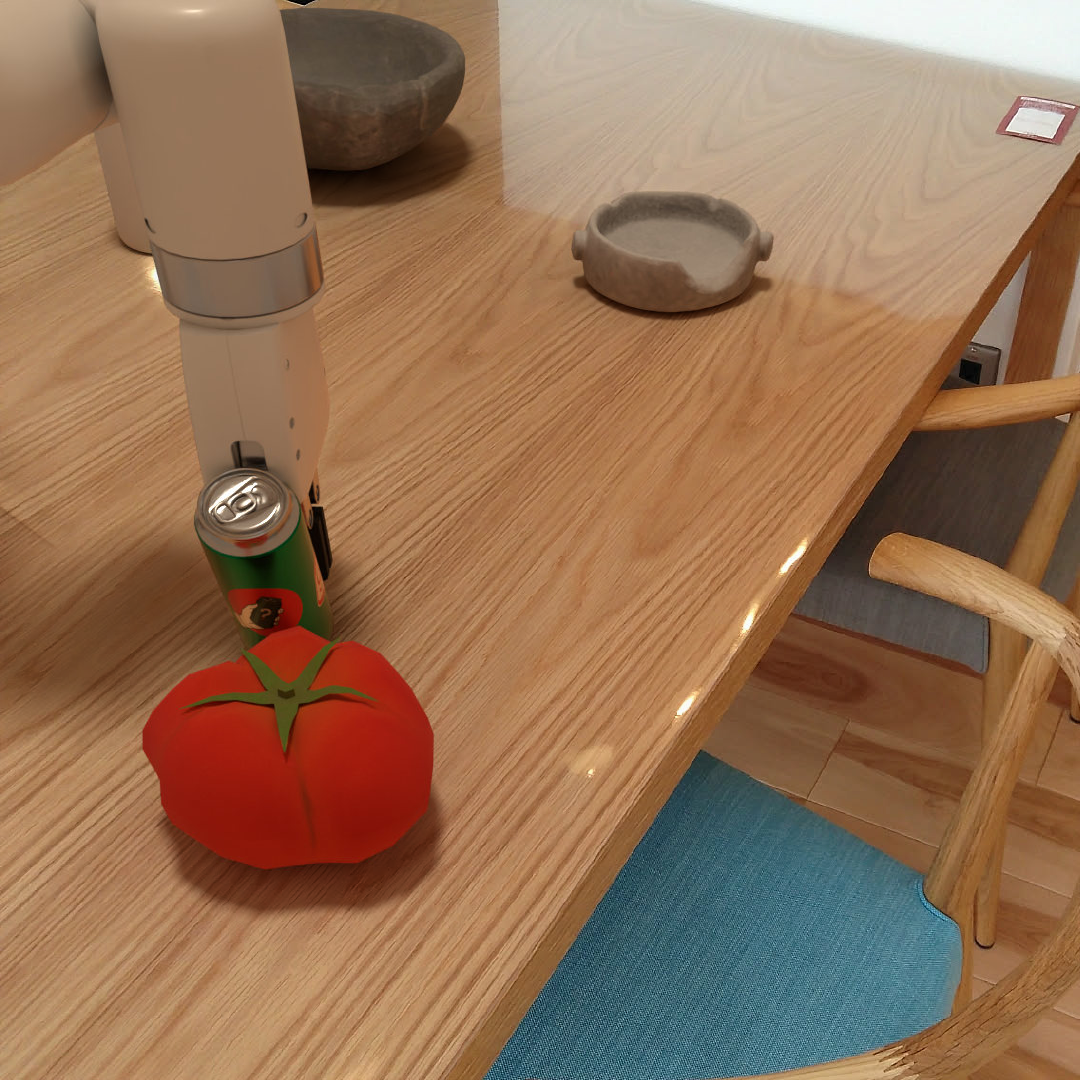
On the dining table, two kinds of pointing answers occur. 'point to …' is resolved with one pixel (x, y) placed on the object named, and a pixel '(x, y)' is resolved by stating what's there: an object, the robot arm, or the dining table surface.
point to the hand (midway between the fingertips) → (302, 572)
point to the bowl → (368, 83)
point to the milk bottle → (121, 188)
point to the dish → (670, 250)
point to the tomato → (293, 753)
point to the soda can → (262, 555)
